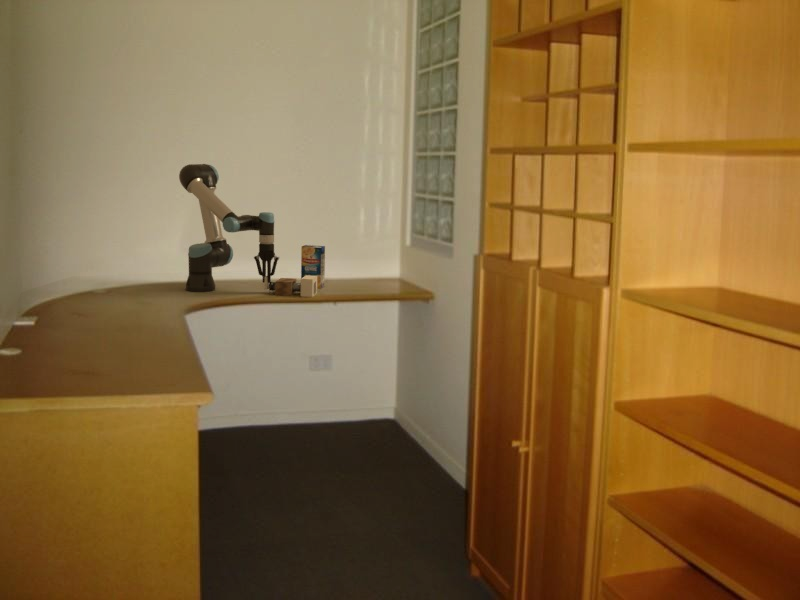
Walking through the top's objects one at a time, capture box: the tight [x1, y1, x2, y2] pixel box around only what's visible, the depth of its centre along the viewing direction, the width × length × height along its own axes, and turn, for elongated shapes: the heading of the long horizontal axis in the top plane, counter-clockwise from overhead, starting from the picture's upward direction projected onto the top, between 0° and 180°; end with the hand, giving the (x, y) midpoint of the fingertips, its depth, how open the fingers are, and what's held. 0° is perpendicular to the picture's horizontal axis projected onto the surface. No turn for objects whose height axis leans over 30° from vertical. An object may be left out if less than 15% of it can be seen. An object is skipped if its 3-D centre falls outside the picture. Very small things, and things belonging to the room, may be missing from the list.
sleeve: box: [274, 277, 297, 297], centre depth 466 cm, size 8×12×7 cm, turn 174°
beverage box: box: [300, 244, 326, 290], centre depth 487 cm, size 7×11×22 cm, turn 77°
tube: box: [268, 281, 301, 293], centre depth 466 cm, size 22×4×4 cm, turn 84°
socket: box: [300, 275, 318, 298], centre depth 465 cm, size 6×12×9 cm, turn 174°
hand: (266, 288), depth 467 cm, fingers closed
